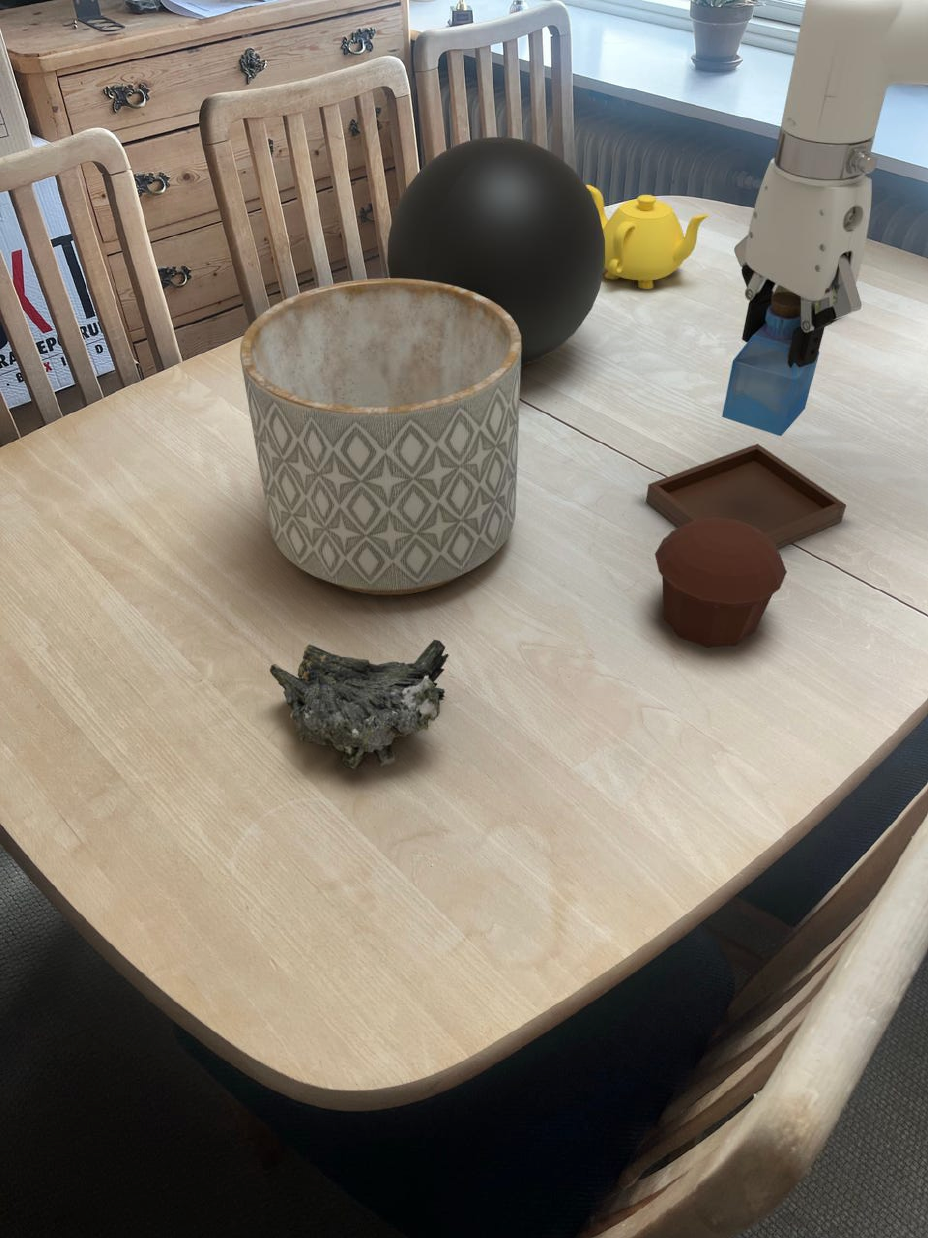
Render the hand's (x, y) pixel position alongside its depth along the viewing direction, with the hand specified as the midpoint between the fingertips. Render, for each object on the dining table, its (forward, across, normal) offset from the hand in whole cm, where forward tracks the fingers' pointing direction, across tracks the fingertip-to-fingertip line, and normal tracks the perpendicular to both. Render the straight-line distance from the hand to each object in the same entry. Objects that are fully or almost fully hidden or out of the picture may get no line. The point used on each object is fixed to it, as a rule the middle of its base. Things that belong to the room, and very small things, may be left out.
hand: (778, 349), depth 97 cm
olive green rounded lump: (+19, +33, -41) cm, 56 cm away
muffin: (+19, -11, +14) cm, 26 cm away
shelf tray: (+19, 0, 0) cm, 19 cm away
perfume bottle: (+7, 0, 0) cm, 7 cm away
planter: (+19, +16, +34) cm, 42 cm away
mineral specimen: (+19, -6, +48) cm, 52 cm away
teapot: (+19, +53, -26) cm, 62 cm away
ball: (+19, +43, +5) cm, 47 cm away
